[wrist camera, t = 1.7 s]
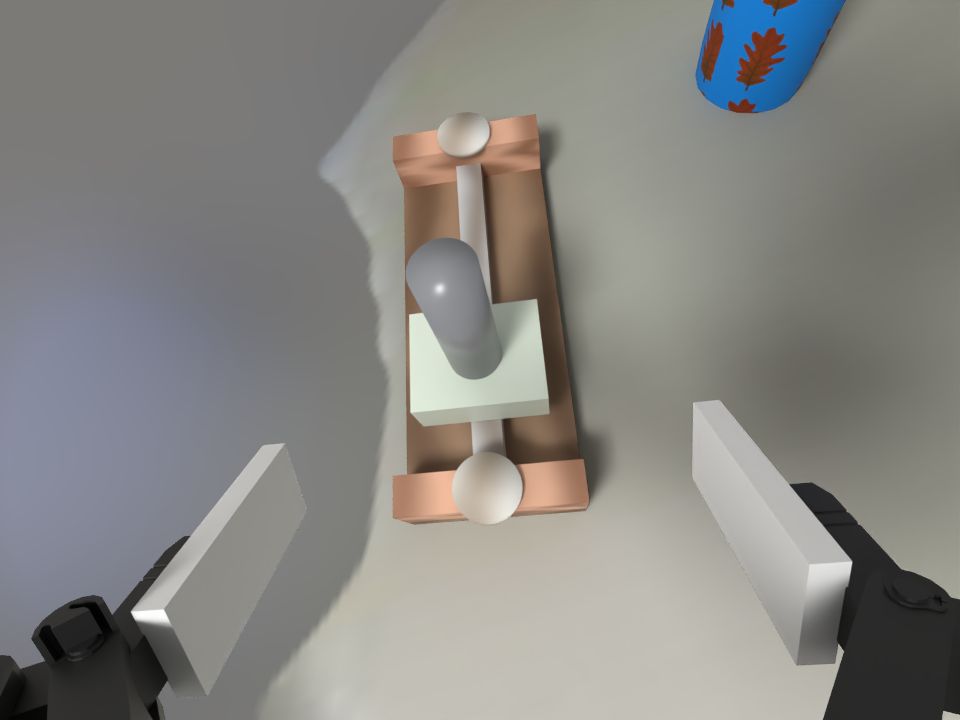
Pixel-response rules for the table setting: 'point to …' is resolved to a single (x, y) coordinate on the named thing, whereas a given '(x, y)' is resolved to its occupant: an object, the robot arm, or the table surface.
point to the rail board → (509, 286)
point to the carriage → (470, 343)
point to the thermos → (761, 50)
